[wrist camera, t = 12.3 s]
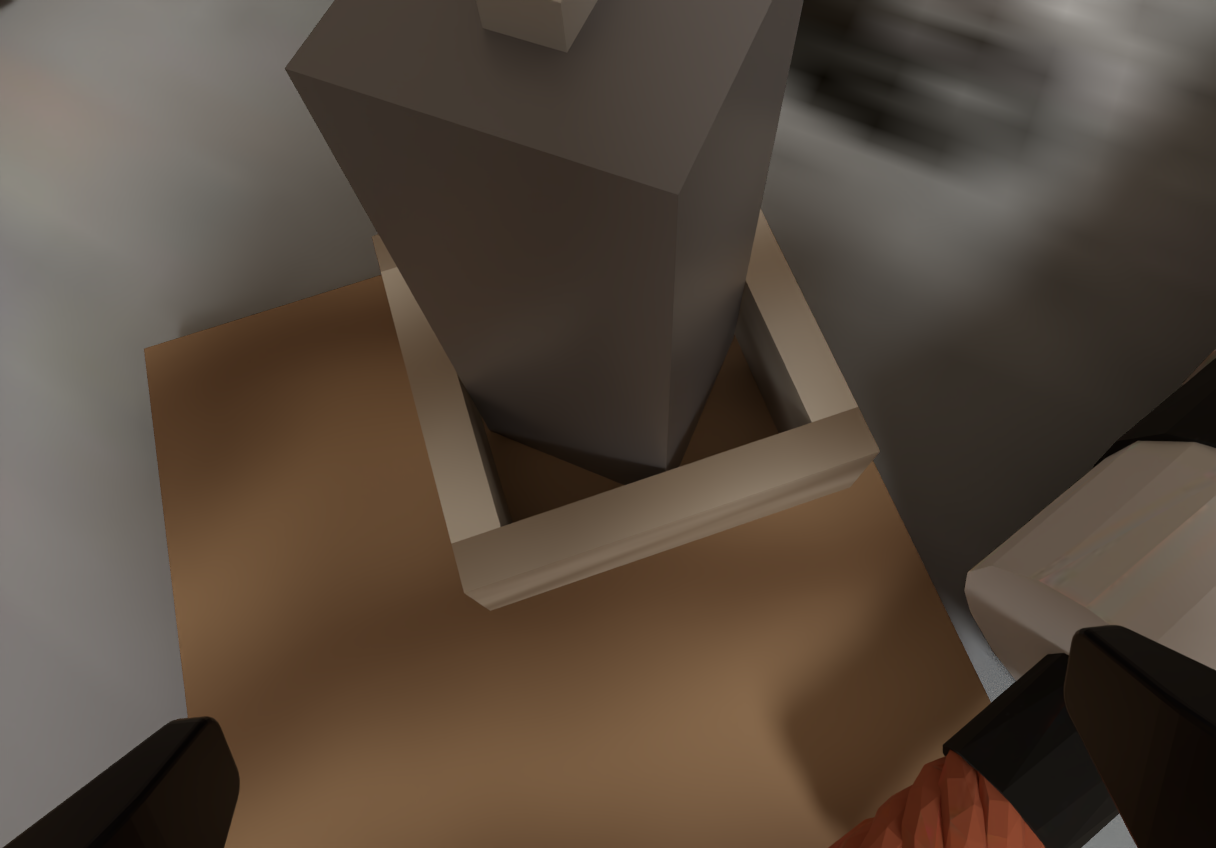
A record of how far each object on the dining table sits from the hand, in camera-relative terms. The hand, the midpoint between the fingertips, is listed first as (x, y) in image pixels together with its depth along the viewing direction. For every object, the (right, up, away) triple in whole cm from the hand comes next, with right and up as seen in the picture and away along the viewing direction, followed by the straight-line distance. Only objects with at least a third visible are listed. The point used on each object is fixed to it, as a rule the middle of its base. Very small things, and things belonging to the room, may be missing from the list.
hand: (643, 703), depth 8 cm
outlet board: (-1, -2, +10) cm, 10 cm away
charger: (0, +4, +11) cm, 11 cm away
